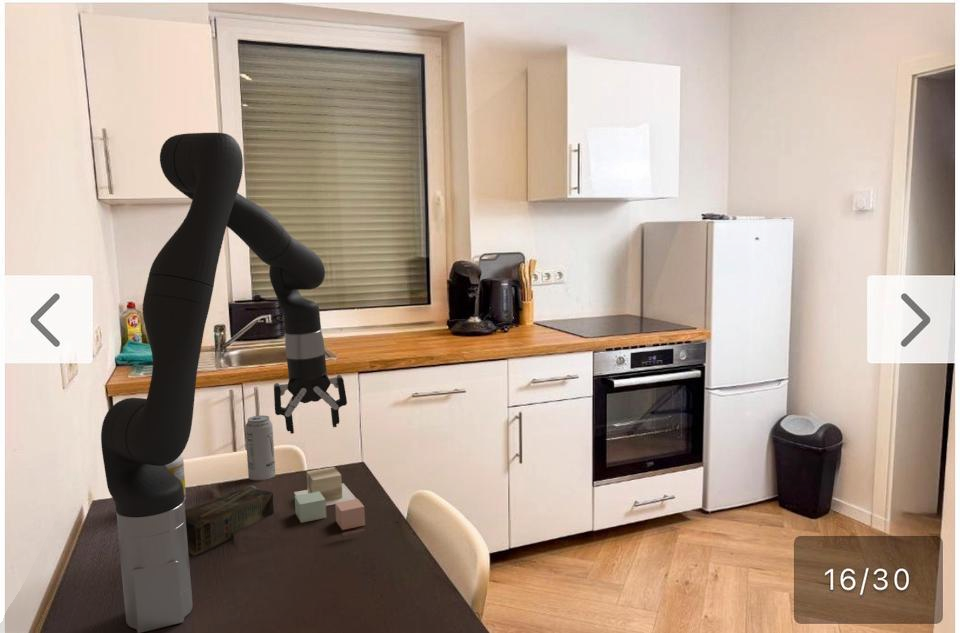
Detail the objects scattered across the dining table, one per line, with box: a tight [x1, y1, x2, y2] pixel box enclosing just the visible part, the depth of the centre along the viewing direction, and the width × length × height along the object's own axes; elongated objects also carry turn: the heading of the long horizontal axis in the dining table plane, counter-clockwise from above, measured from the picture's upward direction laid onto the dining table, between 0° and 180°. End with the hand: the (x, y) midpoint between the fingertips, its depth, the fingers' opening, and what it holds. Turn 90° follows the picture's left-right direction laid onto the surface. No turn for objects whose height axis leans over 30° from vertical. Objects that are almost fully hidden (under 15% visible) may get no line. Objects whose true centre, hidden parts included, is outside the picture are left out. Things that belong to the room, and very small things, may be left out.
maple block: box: [306, 466, 343, 501], centre depth 147 cm, size 6×6×5 cm
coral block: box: [334, 498, 366, 537], centre depth 133 cm, size 4×4×5 cm
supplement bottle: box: [166, 454, 187, 501], centre depth 148 cm, size 7×7×13 cm
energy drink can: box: [245, 415, 276, 481], centre depth 160 cm, size 6×6×15 cm
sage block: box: [294, 491, 327, 524], centre depth 137 cm, size 5×5×5 cm
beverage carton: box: [185, 485, 275, 557], centre depth 132 cm, size 8×19×7 cm, turn 149°
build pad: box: [293, 483, 357, 507], centre depth 147 cm, size 11×11×1 cm
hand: (313, 429), depth 141 cm, fingers open, 8 cm apart
